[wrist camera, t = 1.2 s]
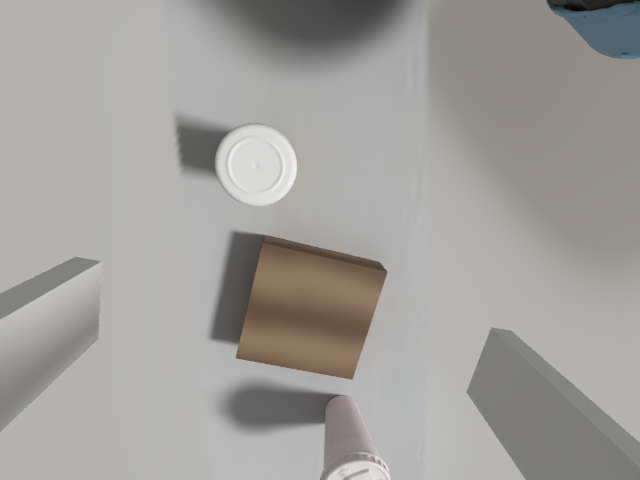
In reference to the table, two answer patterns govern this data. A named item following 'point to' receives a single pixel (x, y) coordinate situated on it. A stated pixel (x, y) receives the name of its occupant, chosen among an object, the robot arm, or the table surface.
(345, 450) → the smoothie
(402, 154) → the table surface
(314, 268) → the walnut base
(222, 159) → the sprinkles bottle
